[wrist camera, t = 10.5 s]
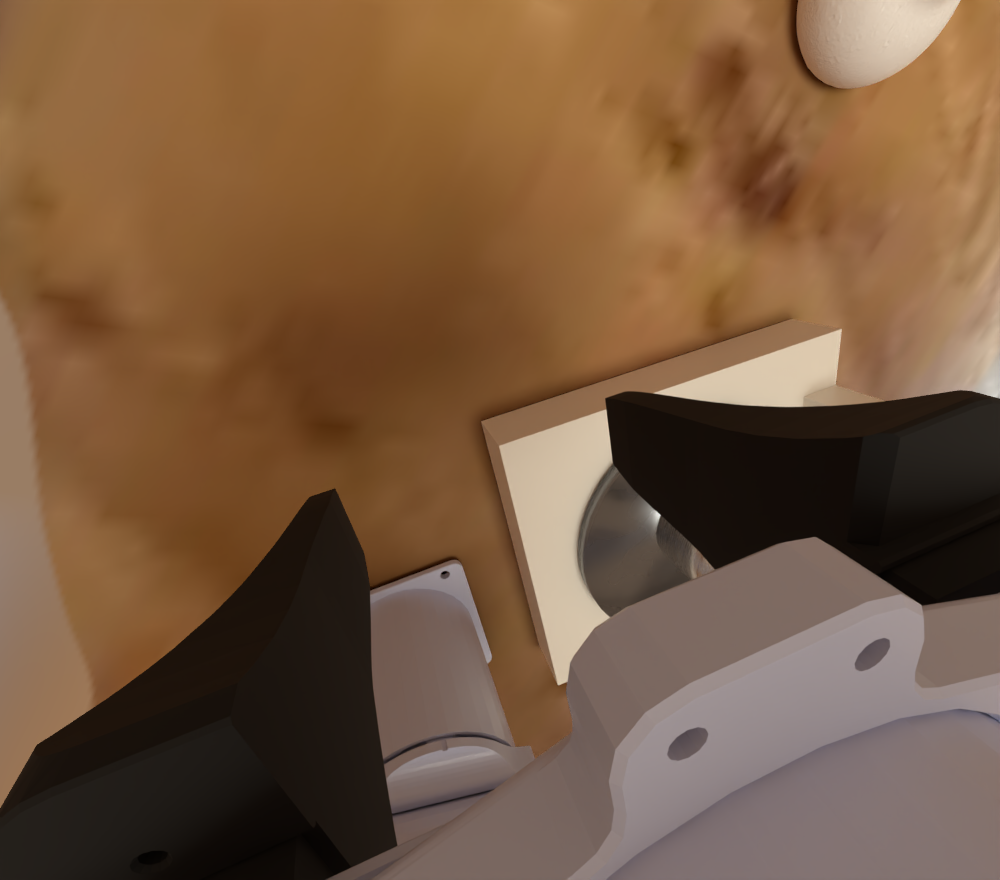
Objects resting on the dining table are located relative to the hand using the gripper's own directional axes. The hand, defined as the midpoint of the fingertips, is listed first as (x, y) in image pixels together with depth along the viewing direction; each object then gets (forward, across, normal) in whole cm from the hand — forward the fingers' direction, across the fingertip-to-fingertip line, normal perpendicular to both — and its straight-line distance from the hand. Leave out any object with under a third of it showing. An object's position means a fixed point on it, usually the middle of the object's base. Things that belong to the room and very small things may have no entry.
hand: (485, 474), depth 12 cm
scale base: (+10, -11, +11) cm, 19 cm away
